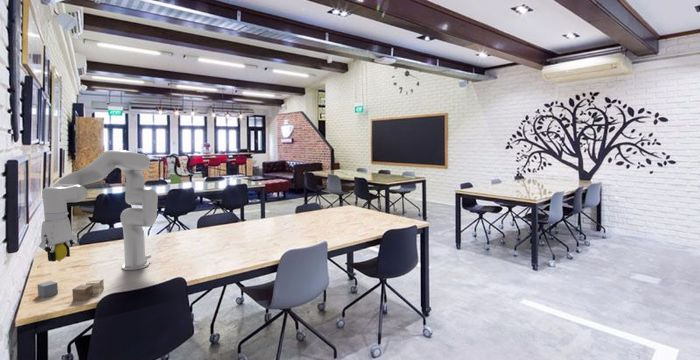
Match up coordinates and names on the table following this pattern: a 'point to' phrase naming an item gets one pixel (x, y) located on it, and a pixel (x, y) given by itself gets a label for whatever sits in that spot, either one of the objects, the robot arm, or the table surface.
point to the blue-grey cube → (47, 289)
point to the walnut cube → (82, 292)
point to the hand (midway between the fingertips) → (59, 258)
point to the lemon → (60, 251)
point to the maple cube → (96, 285)
